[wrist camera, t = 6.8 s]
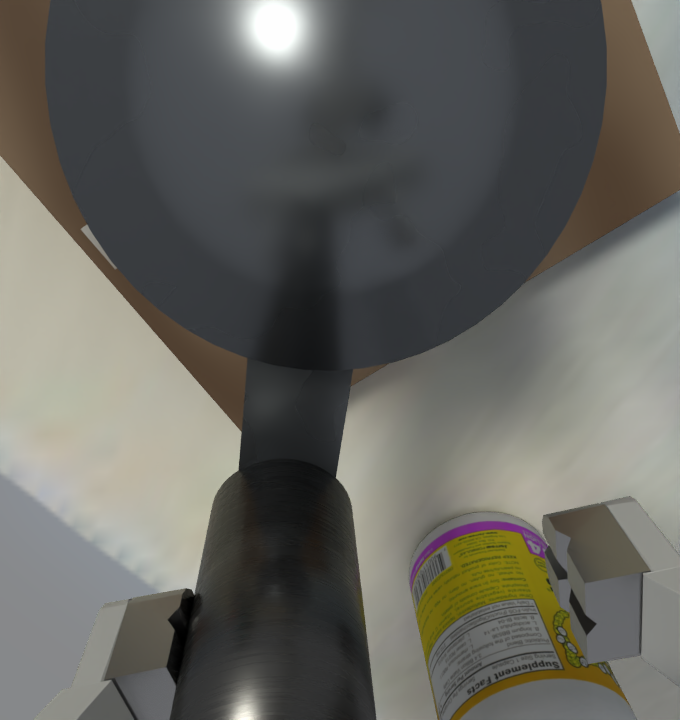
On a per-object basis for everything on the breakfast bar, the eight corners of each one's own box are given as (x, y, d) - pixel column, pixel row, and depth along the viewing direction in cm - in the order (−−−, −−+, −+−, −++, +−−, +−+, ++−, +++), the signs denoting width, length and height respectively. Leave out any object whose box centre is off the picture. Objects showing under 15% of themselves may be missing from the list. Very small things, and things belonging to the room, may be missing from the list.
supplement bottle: (553, 591, 30) (710, 919, 19) (423, 624, 31) (497, 963, 19) (534, 487, 27) (705, 799, 16) (390, 525, 28) (454, 855, 16)
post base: (419, -490, 14) (561, -1152, 7) (671, 172, 21) (884, 235, 14) (-114, -8, 18) (-437, -63, 10) (255, 424, 25) (235, 588, 17)
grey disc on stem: (100, -204, 9) (-583, -1115, 2) (590, -110, 10) (1290, -530, 3) (117, 496, 15) (-51, 896, 8) (431, 518, 16) (540, 896, 9)
